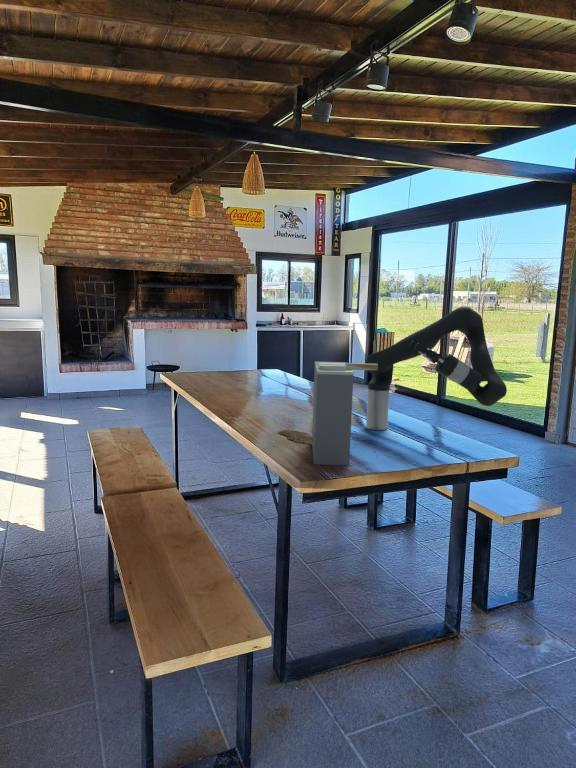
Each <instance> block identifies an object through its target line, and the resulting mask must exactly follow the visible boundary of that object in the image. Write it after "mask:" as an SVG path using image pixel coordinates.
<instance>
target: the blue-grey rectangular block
mask: <svg viewBox="0 0 576 768" xmlns="http://www.w3.org/2000/svg"><path fill="white" fill-rule="evenodd" d="M319 363H348V362H345V361H314V369H313V370H314V374H313V375H314V376H313V377H314V378H313V403H312V433H311V435H312V436H311V437H312V445H311V446H312V447H311V448H312V456H313V459H312V460H313V465H329V466H330V465H331V466H332V465H333V466H335V465H336V466H350V458H351V456H350V455H351V454H350V453H351V437H352V435H351V433H352V432H351V431H352V412H353V411H352V410H353V409H352V408H353V394H354V393H353V390H354V389H353V388H354V371H353V370H346V371H339V370H319Z"/></svg>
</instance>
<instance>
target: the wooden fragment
mask: <svg viewBox="0 0 576 768" xmlns="http://www.w3.org/2000/svg"><path fill="white" fill-rule="evenodd" d="M277 434H280V435H283V436H284V437H286V438H287V439H288V440H290V441H293V442H294V443H296V444H303V445H310V446H312V436H311V435H310V434H309V433H307V432H302V431H298V430H293V429H288V428H285V429H282V430H280V431H279V430H278V432H277Z"/></svg>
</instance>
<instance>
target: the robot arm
mask: <svg viewBox="0 0 576 768" xmlns="http://www.w3.org/2000/svg"><path fill="white" fill-rule="evenodd" d="M484 327H485V326H484V322H483V318H482V316H481V314H480V313H478V312H477V311H476V310H474V309H473V308H471V307H470V306H467V305H465V306H464V305H463V306H459V307H457V308H455V309H453V310H452V311H451V312H448V313H447V314H446V315H444V316H442V317H441V318H440V319H438V320H436V321H434V322H432V323H430V324H428V325H426V326H425V327H423V328H421V329H419V330H417V331H415V332H413V333H411V334H409V335H408V336H406V337H404V338H402V339H400V340H399V341H397V342H395V343H394V344H393V345H390V346H389V347H386V348H384V349H381V350H379V351H375V352H373V353H371V354H370V355H369V354H368V355H369V356H367V358H366V360H365V362H364V363H365V364H378V370H367V372H369V373H370V374H373V376H372V378H371V380H370V381H369V382H368V385H367V401H366V421H365V423H366V424H365V427H366V429H368V430H373V431H385V430H387V429H388V425H389V424H388V421H389V405H390V388H391V384H392V383H393V382H392V381H393V373H394V365H395V364H398V363H401V362H404V361H407V360H412V359H414V358H416V357H420V356H422V357H423V358H425V359H427V361H429V362H430V363H432V364H436V365H435V372H437V373H438V374H440V375H442V376H443V377H444V378H446V379H448V380H450V381H451V382H453V383H455V384H457V385H458V386H461V387H462V388H463V389H465V390H466V391H468V392H469V393H470V394H471V396H472V397H474V399H475V400H476V401H477V402H478V403H479V404H481V405H482V406H485V407H491V406H493V405H495V404H496V403H498V402H499V401H500V400H502V399H503V398H504V397H505V396H506V395H507V391H508V389H507V385H506V383H505V382H504V380H503V379H502V378H501V377H500V375H499V374H498V373H497V371H496V369H495V366H494V363H493V361H492V360H493V359H492V358H491V355H490V352H489V350H488V349H489V348H488V345H487V340H486V339H487V338H486V336H485V335H486V334H485V329H484ZM455 331H459V332H460V333H461V334H464V335H465V338H466V339H467V341H468V344H469V346H470V355H469V357H470V358H469V359H470V364H471V367H470V366H469V365H468V364H466V363H465V362H464V361H462V360H461V359H459V358H458V357H456V356H454V355H452V354H451V353H449V352H445V353H444V354H443V355H442V356H441V353H440V352H438V351H436V350H434V348H435V347H436V345H438V343H439V342H440V340H441V339H442V338H443V337H445V336H447V335H449V334H450V333H453V332H455ZM482 382H483V383H484V382H486V384H484V385H483V386H481V383H482Z"/></svg>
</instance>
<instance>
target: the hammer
mask: <svg viewBox="0 0 576 768" xmlns="http://www.w3.org/2000/svg"><path fill="white" fill-rule="evenodd" d="M319 370H339V371H346V370H352V371H353V370H354V371H368V370H378V364H365V362H364V363H359V362H347V363H319Z"/></svg>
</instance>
